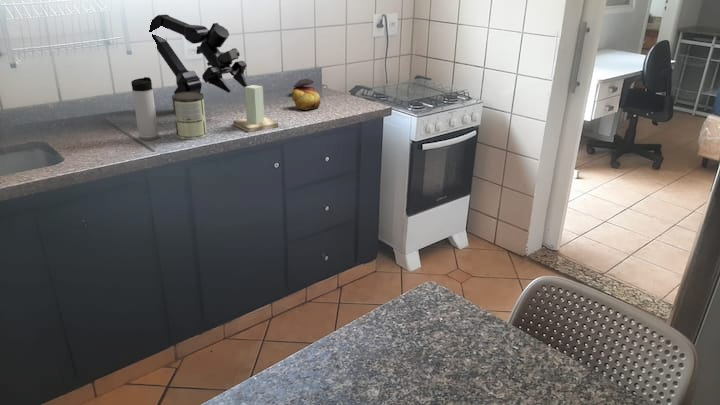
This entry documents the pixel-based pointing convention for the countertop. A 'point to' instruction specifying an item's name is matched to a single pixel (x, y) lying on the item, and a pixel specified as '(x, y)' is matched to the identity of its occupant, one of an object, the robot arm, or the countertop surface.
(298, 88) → the dark grey rounded piece
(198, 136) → the coffee can
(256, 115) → the sage block
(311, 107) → the bread roll
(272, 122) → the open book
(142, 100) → the travel mug
